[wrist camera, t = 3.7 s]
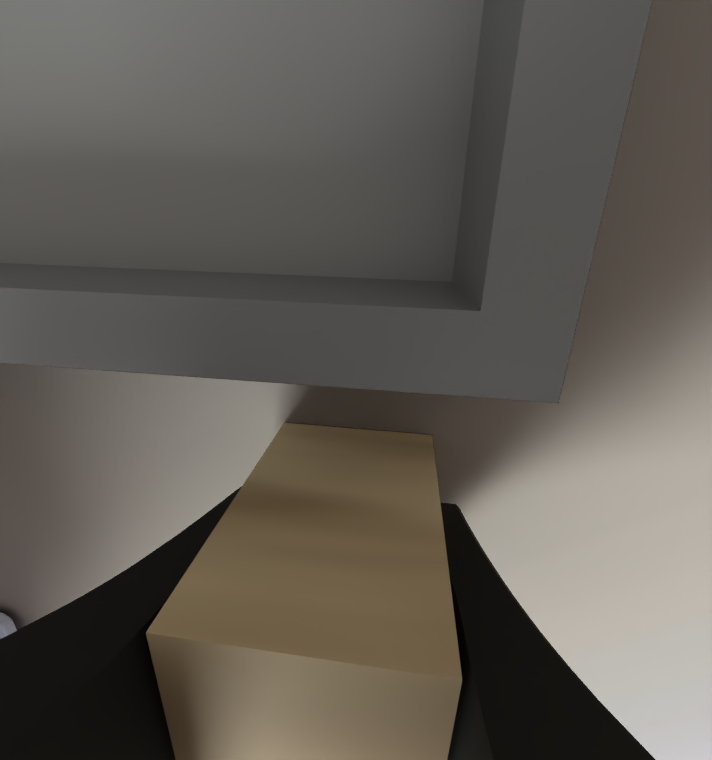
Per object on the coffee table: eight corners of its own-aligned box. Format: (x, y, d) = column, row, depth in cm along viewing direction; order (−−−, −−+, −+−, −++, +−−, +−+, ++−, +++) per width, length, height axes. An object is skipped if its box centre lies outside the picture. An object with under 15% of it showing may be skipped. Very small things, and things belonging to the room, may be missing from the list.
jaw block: (419, 553, 12) (430, 850, 6) (288, 538, 12) (186, 801, 6) (432, 435, 10) (462, 680, 5) (284, 422, 11) (146, 632, 5)
